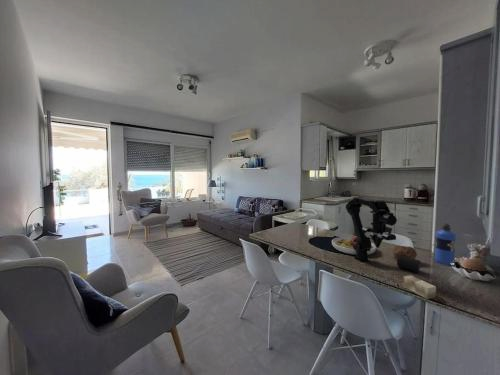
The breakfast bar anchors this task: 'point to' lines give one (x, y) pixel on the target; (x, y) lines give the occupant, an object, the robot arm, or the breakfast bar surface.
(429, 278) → the breakfast bar surface
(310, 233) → the breakfast bar surface
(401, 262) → the end cap
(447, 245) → the water bottle
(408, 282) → the beech block
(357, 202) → the robot arm
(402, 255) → the decorative rock
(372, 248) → the bowl
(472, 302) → the breakfast bar surface
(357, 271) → the breakfast bar surface
